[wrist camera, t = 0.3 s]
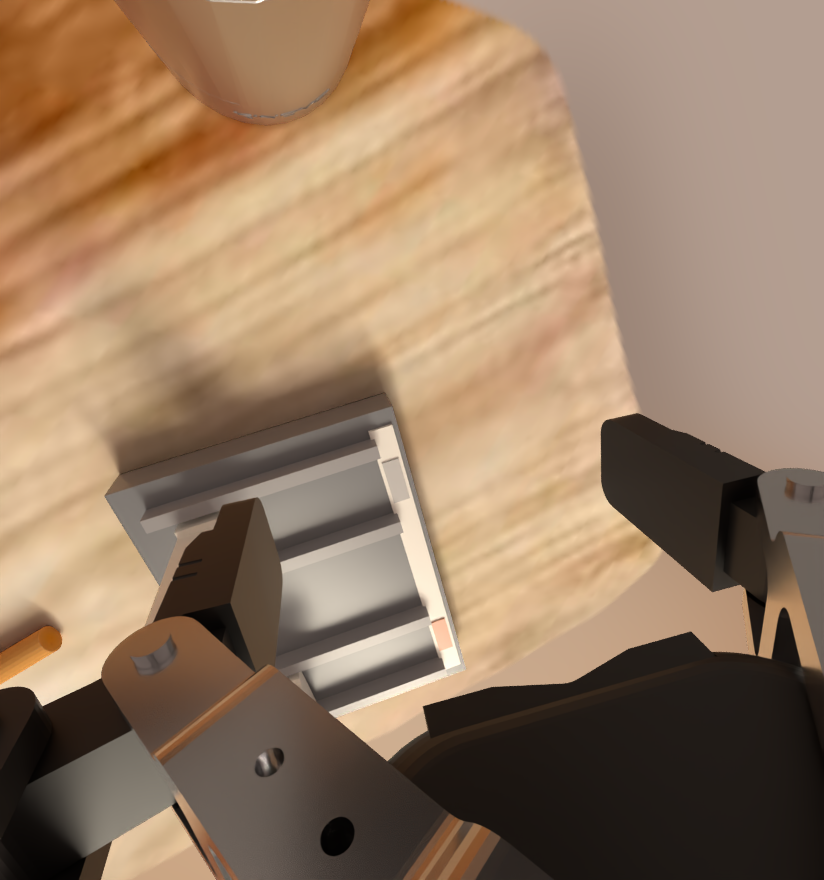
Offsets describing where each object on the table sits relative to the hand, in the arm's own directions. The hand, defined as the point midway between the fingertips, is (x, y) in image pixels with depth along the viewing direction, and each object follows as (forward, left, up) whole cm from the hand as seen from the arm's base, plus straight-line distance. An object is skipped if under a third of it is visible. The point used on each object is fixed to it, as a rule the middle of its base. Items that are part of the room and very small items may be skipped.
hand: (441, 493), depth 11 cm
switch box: (+15, -7, -19) cm, 25 cm away
